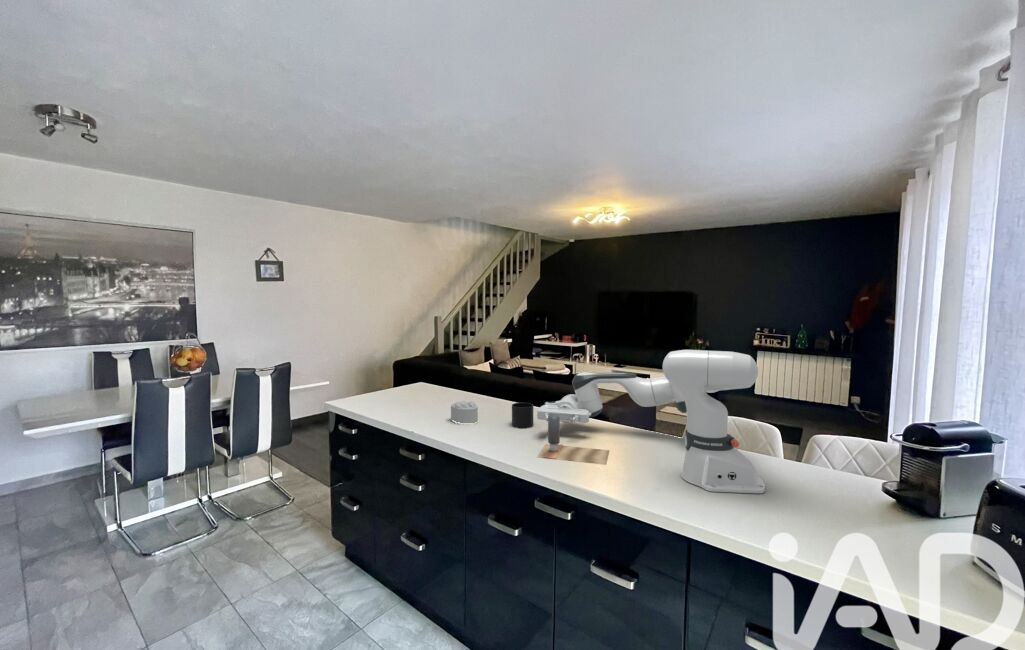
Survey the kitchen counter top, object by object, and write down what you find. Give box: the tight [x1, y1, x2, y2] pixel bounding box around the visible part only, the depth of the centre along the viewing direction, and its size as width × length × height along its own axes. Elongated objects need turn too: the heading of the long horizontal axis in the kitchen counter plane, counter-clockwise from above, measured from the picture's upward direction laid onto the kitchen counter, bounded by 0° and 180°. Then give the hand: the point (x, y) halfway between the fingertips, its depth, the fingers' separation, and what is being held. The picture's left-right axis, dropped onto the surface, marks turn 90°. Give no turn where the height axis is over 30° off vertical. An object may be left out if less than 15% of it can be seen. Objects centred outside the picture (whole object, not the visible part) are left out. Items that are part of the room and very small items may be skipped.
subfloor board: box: [536, 443, 610, 466], centre depth 147 cm, size 23×14×2 cm, turn 73°
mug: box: [511, 401, 534, 429], centre depth 187 cm, size 9×12×9 cm
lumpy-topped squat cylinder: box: [450, 400, 479, 423], centre depth 192 cm, size 10×13×9 cm
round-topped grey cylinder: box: [547, 415, 561, 452], centre depth 148 cm, size 4×4×12 cm
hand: (559, 420), depth 160 cm, fingers open, 8 cm apart
